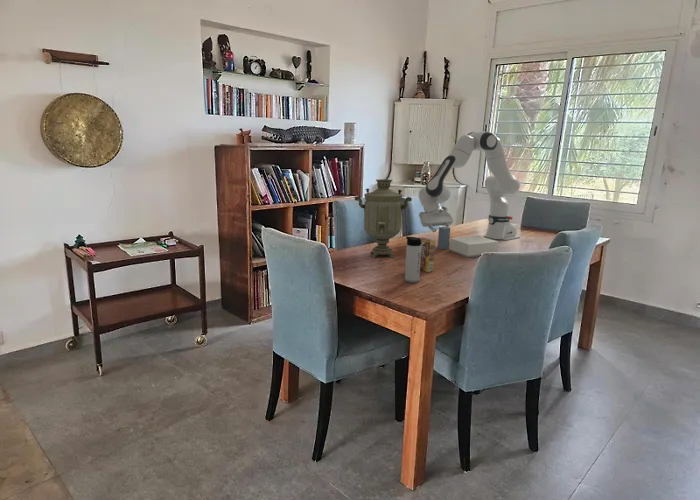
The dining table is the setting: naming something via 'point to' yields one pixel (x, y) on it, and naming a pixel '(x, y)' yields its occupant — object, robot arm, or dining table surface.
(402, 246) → the dining table surface
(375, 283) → the dining table surface
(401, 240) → the dining table surface
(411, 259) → the travel mug
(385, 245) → the samovar
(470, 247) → the riser
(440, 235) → the grey tall block
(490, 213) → the robot arm
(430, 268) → the candy box
